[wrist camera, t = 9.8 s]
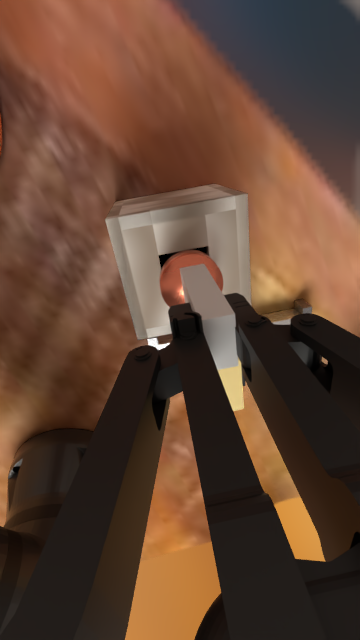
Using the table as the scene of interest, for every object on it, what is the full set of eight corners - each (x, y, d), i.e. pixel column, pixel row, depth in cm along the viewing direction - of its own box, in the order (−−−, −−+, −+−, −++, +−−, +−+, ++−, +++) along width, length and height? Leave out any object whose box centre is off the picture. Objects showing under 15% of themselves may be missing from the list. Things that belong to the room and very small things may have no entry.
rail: (155, 364, 35) (156, 375, 33) (146, 329, 32) (147, 339, 31) (300, 335, 35) (308, 344, 34) (302, 298, 33) (312, 306, 31)
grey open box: (137, 293, 30) (137, 340, 22) (115, 201, 26) (105, 219, 18) (222, 277, 30) (251, 317, 23) (214, 183, 26) (247, 193, 18)
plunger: (161, 288, 24) (166, 319, 19) (151, 240, 22) (154, 261, 17) (208, 279, 24) (225, 308, 19) (203, 230, 22) (220, 249, 17)
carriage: (181, 364, 35) (192, 419, 27) (172, 322, 32) (183, 370, 24) (221, 356, 35) (243, 408, 28) (217, 313, 32) (240, 359, 25)
